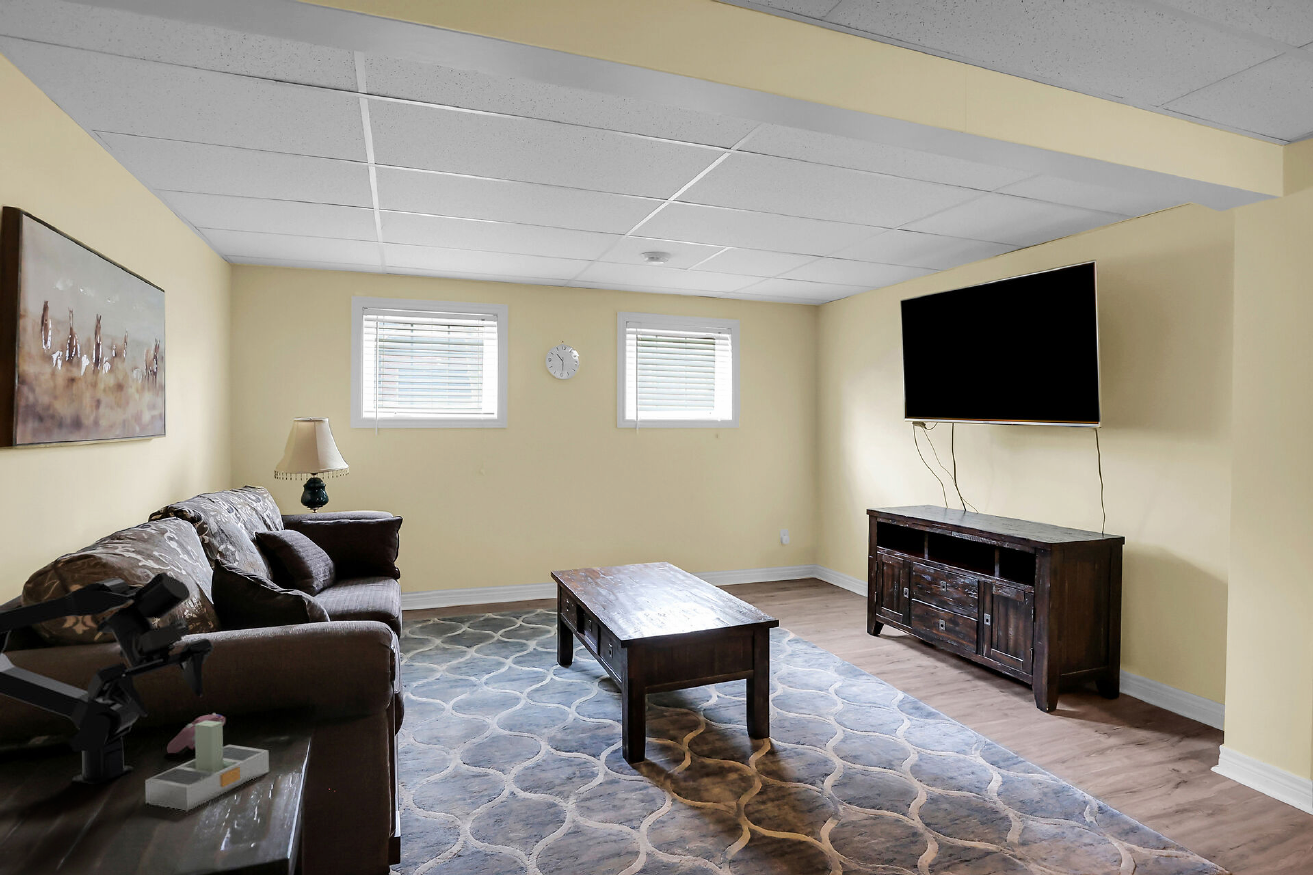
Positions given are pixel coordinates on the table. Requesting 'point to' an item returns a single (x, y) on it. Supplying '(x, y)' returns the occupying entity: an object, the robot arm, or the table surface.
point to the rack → (205, 779)
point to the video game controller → (191, 733)
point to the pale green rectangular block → (209, 746)
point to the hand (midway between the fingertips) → (174, 705)
